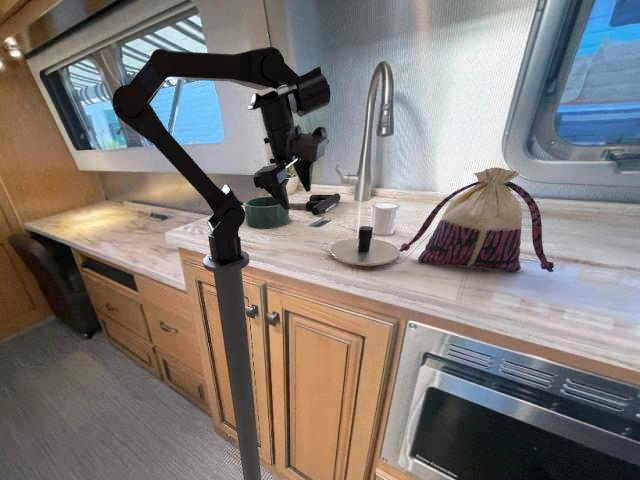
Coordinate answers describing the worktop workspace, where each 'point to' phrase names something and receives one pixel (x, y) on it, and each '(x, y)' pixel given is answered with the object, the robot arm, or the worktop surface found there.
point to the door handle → (317, 203)
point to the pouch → (483, 226)
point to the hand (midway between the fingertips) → (298, 200)
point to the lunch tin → (265, 213)
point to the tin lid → (364, 250)
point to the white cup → (384, 217)
